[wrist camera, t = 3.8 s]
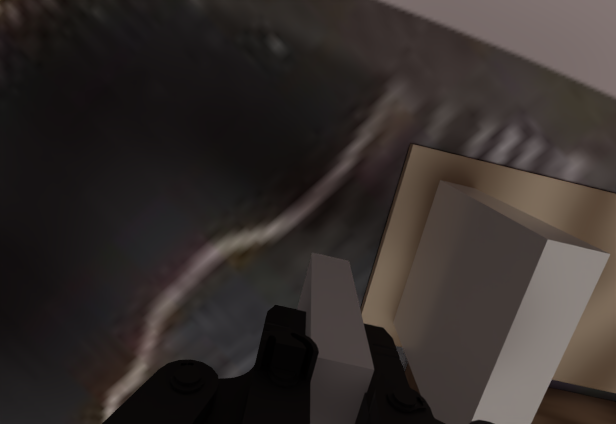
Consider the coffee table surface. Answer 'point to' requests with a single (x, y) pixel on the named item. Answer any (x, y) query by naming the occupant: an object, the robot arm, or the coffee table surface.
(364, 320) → the plate
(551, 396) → the figurine crate
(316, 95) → the coffee table surface
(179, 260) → the coffee table surface
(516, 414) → the block
